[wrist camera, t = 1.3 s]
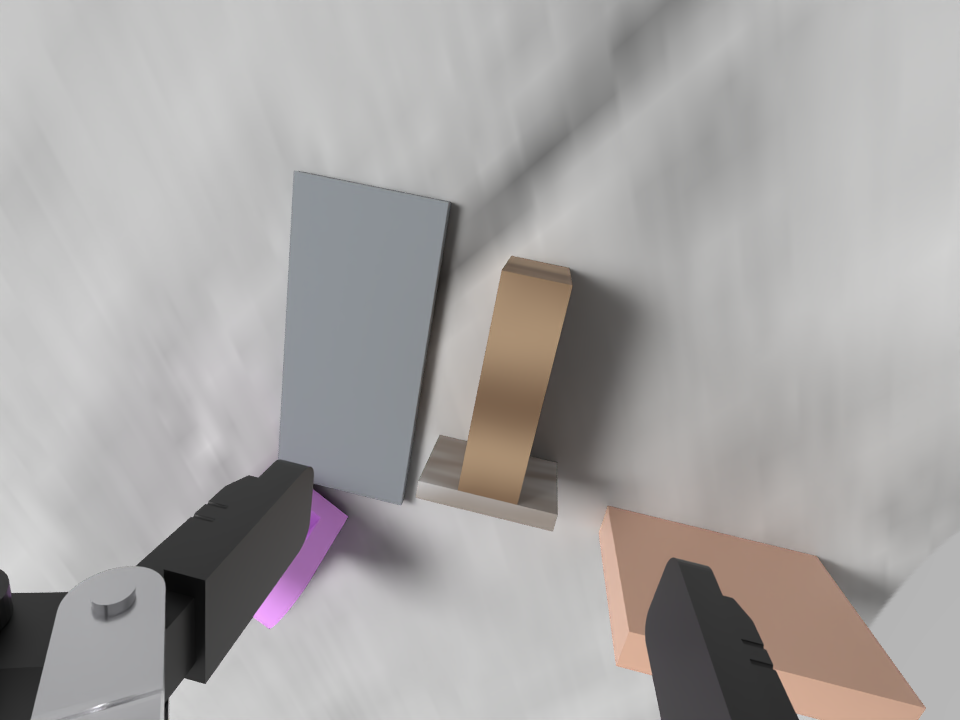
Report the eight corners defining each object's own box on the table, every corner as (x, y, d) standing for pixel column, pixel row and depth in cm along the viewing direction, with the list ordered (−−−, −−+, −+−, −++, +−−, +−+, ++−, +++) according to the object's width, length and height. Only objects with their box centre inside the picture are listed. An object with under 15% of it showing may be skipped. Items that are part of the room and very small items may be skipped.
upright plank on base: (473, 247, 26) (455, 260, 21) (608, 276, 25) (620, 295, 21) (437, 449, 30) (415, 497, 25) (552, 476, 29) (552, 531, 25)
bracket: (277, 461, 31) (203, 540, 24) (348, 516, 32) (294, 607, 25) (185, 569, 36) (102, 658, 29) (248, 614, 36) (181, 711, 30)
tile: (607, 505, 29) (629, 631, 21) (816, 555, 29) (926, 708, 20) (597, 536, 30) (614, 670, 22) (800, 586, 29) (899, 746, 21)
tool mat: (299, 171, 26) (293, 170, 25) (451, 202, 25) (448, 202, 25) (282, 469, 32) (277, 474, 31) (403, 499, 31) (400, 505, 31)
